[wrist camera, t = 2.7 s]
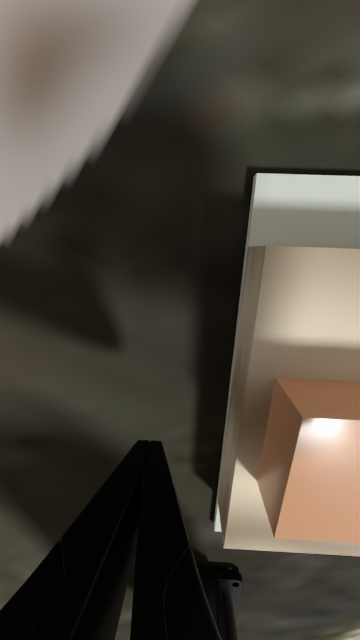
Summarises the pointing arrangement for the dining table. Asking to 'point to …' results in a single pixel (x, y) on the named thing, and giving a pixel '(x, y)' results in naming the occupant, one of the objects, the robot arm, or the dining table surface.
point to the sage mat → (298, 226)
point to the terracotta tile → (312, 461)
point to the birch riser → (284, 371)
